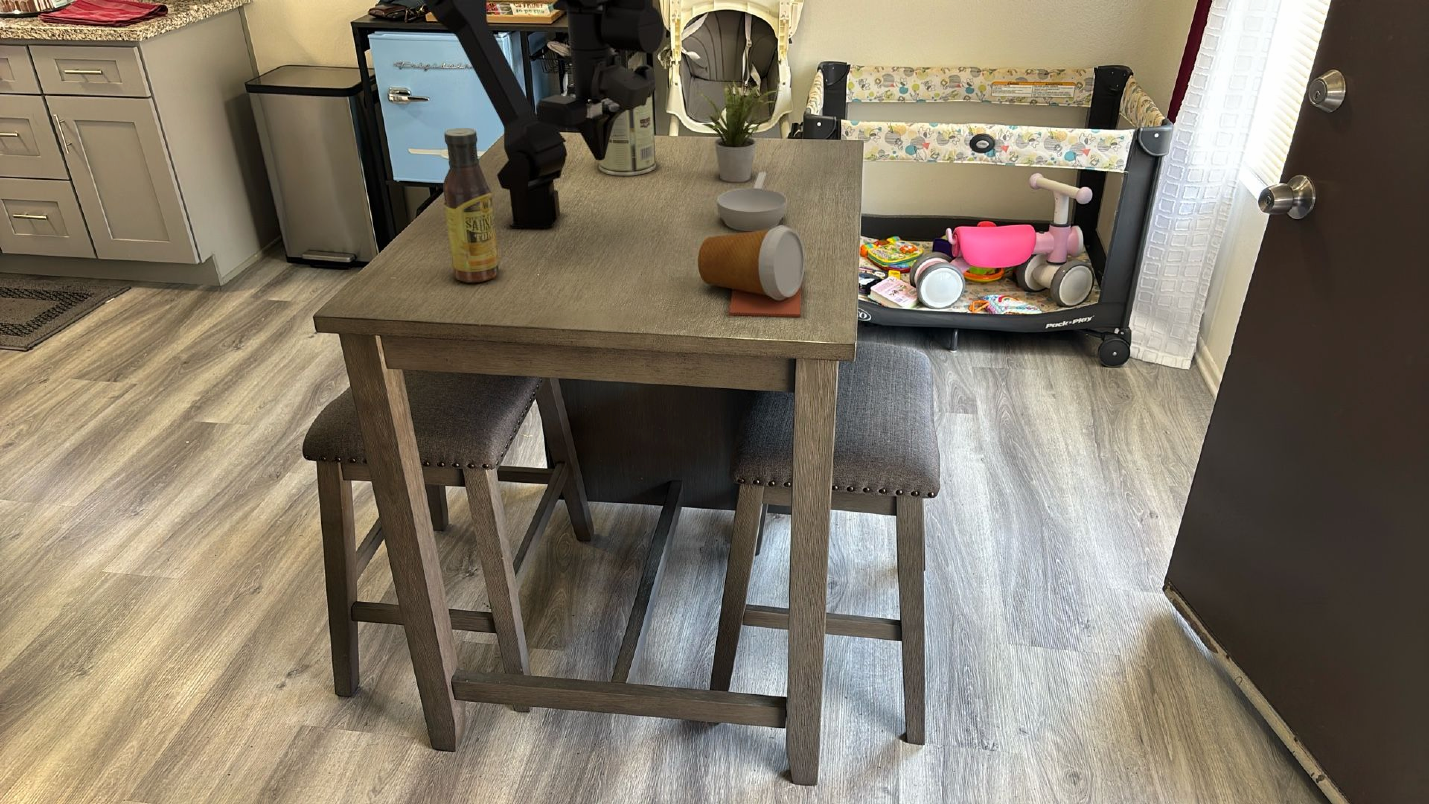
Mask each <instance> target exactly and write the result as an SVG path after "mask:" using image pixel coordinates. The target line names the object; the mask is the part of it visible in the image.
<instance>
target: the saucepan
mask: <svg viewBox="0 0 1429 804" xmlns="http://www.w3.org/2000/svg"><path fill="white" fill-rule="evenodd" d="M766 177H767V173H766V172H765V171H760V172H758V174H757V177H756V180H755V183H754V184H753V187H743V188H736V189H732V190H728V191H725V192H722V193H720V194H719V195H718V196H717V199H716V201H717V204H716V205H717V211H718V214H719V215H720V218H721V219H722V220H723V222H724V224H725V225H726V226H727V227H728V228H730V229H733V230H737V231H742V232H755V231H763V230H771V229H772V228H775V227H777V226H779V224H780V221H781V220H782V219H783V217H784V216H785V213H786V212H787V211H786V210H787V202H788V198H787V197H786V196H785V194H783V193H781V192H779V191H777V190H771V189H767V188H763V185H764V183H765V180H766Z"/></svg>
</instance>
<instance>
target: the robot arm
mask: <svg viewBox="0 0 1429 804" xmlns="http://www.w3.org/2000/svg"><path fill="white" fill-rule="evenodd" d="M422 2H423V3H424V4H425V6H426V7H427V8H428V10H429V12H430V13H431V14H432V16H433V17H434V19H435V20H436V21H437V22H438V23H439V24H440V25H442V26H443V27H444V28H446V29H447V30H448V31H449V32H451V33H452V34H453V35H455V37H456V38H457V40H458V42H459V44H460V46H461V48H462V49H463V51H464V53H465V55H466V58H467V60H468V61H469V63H470V65H471V67H472V69H473V71H474V73H475V74H476V76H477V79H478V80H479V83H480V84H481V86H482V87H483V89H484V91H485V93H486V95H487V97H488V99H489V101H490V103H491V105H492V107H493V108H494V111H495V113H496V114H497V116H498V118H499V120H500V122H501V124H502V126H503V149H504V151H505V155H506V157H507V161H506V162H505V164H504V165H503V166H502V168H500V170H499V172H497V174H496V176H497V180H498V183H499V185H500V188H501V189H503V190H507V191H509V200H510V207H511V217H512V221H511V222H510V223H509V227H510V228H512V229H513V228H514V229H547V230H549V229H552V228H553V226H554V224H555V223H556V222H557V221H558V219H559V217H561V210H560V198H559V197H560V196H559V191H558V190H557V189H555V181H554V180H557V179H560V178H561V176H562V172H563V167H564V166H565V164H566V160H567V156H568V151H567V147H566V145H565V143H566V142H567V141H566V139H565V138H564V137H563V135H562V134H561V132H560V130H559V128H558V126H563V127H573V126H574V127H575V128H576V129H577V131H578V132H579V134H580V135H581V137H582V139H583V141H584V142H585V144H586V146H587V148H588V150H589V151H590V152H591V154H592V156H593V158H594V159H595V160H596V161H598V162H599V161H601V160H604V159H605V155H606V151H607V147H608V143H609V139H610V135H611V131H612V128H613V125H614V122H615V120H616V119H617V118H618V117H619V116H620V115H621V114H622V113H623V112H625V111H626V110H633V109H634V108H636V107H638V106H641V105H642V106H644V105H646V102H647V98H649V97H651V92H652V93H653V92H655V91H656V86H655V84H656V77H655V71H654V67H652V66H650V65H649V64H647V63H644V64H641V65H638V66H636V68H633V67H630V68H626V67H624V66H623V64H622V57H621V55H620V52H615V51H613V50H616V51H617V50H618V51H626V52H636V53H643V54H653V53H655V52H656V51H658V49H659V48H660V47H661V44H662V41H663V39H664V32H665V31H664V30H665V25H664V24H665V23H664V21H663V20H662V16H661V14H660V12H659V10H658V9H657V8H656V7H654V0H556V1H555V2H554V3H553V4H552V9H553V10H554V11H563V12H566V19H567V31H568V43H569V52H570V53H568V54H564V55H563V59H564V64H569V65H571V75H572V84H569V85H567V86H566V92H567V95H574V96H567V95H561V94H554V95H550V96H548V97H545V98H543V99H540V100H538V102H537V103H536V105H535V110H533V108H532V106H531V104H530V102H529V100H528V97H527V96H526V94H525V92H524V91H523V88H522V86H521V85H520V82H519V80H518V79H517V77H516V75H515V72H514V71H513V69H512V66H511V65H510V63H509V61H508V58H507V57H506V55H505V54H504V51H503V50H502V47H501V46H500V43H499V42H498V40H497V38H496V36H495V34H494V32H493V30H492V28H491V26H490V25H489V22H488V0H422Z"/></svg>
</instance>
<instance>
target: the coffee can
mask: <svg viewBox="0 0 1429 804" xmlns="http://www.w3.org/2000/svg"><path fill="white" fill-rule="evenodd" d="M653 97H654V95H653V92H651V97H649V98H647V102H646V105H644V106H642V105H641V106H638V107H636V108H634V109H633V110H626V111H625V112H623V113H622V114H621V115H620V116H619V117H618V118H617V119H616V120H615V122H614V125H613V128H612V131H611V135H610V139H609V143H608V147H607V151H606V155H605V159H604V160H601V161H599V160H598V162H599V163H598V164H599V167H598V168H599V171H601V172H602V173H604V174H606V175H612V176H617V177H618V176H619V177H624V176H625V177H627V176H628V177H629V176H630V177H631V176H639V175H644V174H647V173H650V172H652V171H654V170H655V169H656V167H657V163H656V144H655V142H656V141H655V122H654V120H655V119H654V98H653Z"/></svg>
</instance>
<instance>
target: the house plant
mask: <svg viewBox="0 0 1429 804" xmlns="http://www.w3.org/2000/svg"><path fill="white" fill-rule="evenodd" d="M726 83H727V84H728V86H729V87H728V86H727V85H726V84H725V85H724V90H723V91H724V97H725V98H724V100H725V101H724V102H725V118H724V116H723V114H722V113H721V112H720V110H719V108H718V107H717V106H716V104H715V103H714V102H713V101H712V100H711V99H710V98H709V97H707V96H706V95H704V94H703V93H701V92H696V91H695V93H696V94H699V95H700V96H702V97H703V98H704V99H705V100H706V101H707V102H708V103H709V104H710V105H711V107H712V108H713V109H714V111H715V112H716V114H717V115H718V117H719V119H720V121H721V122H722V123H721V122H720V121H719V120H718V119H717V118H716V117H714V116H713V115H712V114H710V113H707V116H708V117H709V118H710V120H711V122H712V123H708V122H707V123H706V122H705V123H702V124H701V126H705V127H707V128H709V129H710V130H712V131H714V132H716V133H717V135H718V136H719V137H720V138H717V139H715V141H714V146H715V153H716V157H717V159H716V160H717V164H718V170H719V177H720V180H722V181H724V182H729V183H742V182H743V183H744V182H746V181H748V180H750V178H751V175H752V168H753V163H754V156H755V151H756V146H757V141H756V140H755V139H754V138H753V137H752V136H753V133H754V134H756V133H757V132H758V130H759V127H760V126H761V125H762V124H763V123H764V122H766V123H768V124H769V125H771V123H770V122H769V121H768V120H769V119H772V118H773V116H768V117H765V118H764V119H763V118H755V116H756V115H757V114H758V112H759V111H760V110H761V109H762V108H763V107H765V106H766V105H767V104H769V103H776V102H777V101H774V100H771V101H769V100H768V101H765V100H763V99H764V98H765V97H766V96H768V95H770V94H772V93H777V92H781V91H782V90H781V89H780V90H779V89H778V90H769V91H767V92H765V93H763V94H762V95H760V96H759V97H758V98H756V100H755V101H754V102H752V101H753V99H754V97H755V95H756V94H757V92H758V91H757V90H758V88H759V86H760V84H757V85H755V86H754V87H752V89H751V90H750V91H749V92H748V94H747V97H746V99H745V95H744V94H743V95H741V93H740V90H739V88H738V86H737V84H736V82H735V81H734V80H732V83H733V88H734V91H733V89H732V86H731V84H729V82H726ZM759 103H762V104H761V105H760V106H759V107H758V108H757V109H756V111H755V112H754V114H753V115H752V117H751V118H750V120H749V122H748V123H746V122H747V120H748V118H749V117H750V115H751V114H752V111H754V109H755V107H756V106H757V105H758V104H759ZM759 121H760V122H759ZM756 122H759V123H758V124H756V126H752V125H754V124H755V123H756ZM722 124H723V125H724V126H723V125H722ZM751 126H752V127H751ZM750 130H751V131H750Z"/></svg>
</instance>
